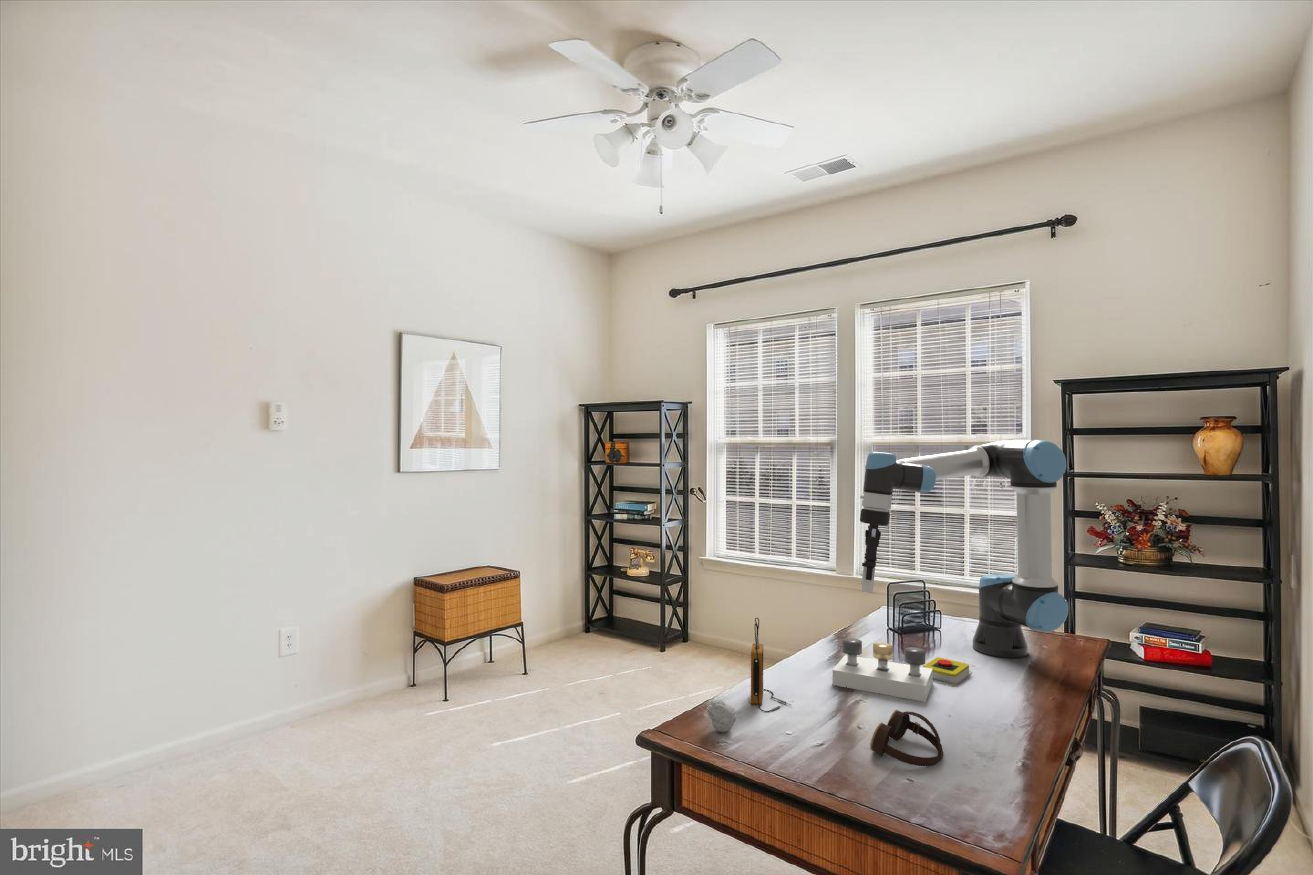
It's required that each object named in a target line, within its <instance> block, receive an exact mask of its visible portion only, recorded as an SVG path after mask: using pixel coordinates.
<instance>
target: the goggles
mask: <svg viewBox="0 0 1313 875" xmlns="http://www.w3.org/2000/svg"><path fill="white" fill-rule="evenodd" d="M910 715H911V716H914V717H916V718H919V719H920V720H921V721H923V722H924V723H925V724H926V725H927V726H928V727H929V728H930V729H931V731H932V732H931V731H929V729H927V728H925V727H923V726H922V725H921V724H920V723H919V722H916V721H911V718H910V717H911V716H910ZM907 730H909V731H911V732H912V733H913V734H915V735H919V736H920V737H922V738H924V739H925V740H927V741H928V742H929V743H930V744H931V745H932V746H933V747H934V748H935V750H936V751H937V755H936V756H931V757H926V756H924V757H923V756H918V755H917V756H916V755H912V754H908V753H907V752H903V751H901V750H899V749H897V748H894V747H893V746H891V745H890V744H889V740H890V738H891V739H892V740H893V741H895V742H898V741H899V740H901V739H902V738H903V737H904V736H905V734H906V733H907ZM941 742H942V741H941V737H940V736H939V733H938V731H937V729H936V727H935V725H934V724H933V723H932V722H931V721H930V720H929V719H928V718H927V717H925V716H923V715H922V714H920V713H917V712H914V711H908V710H907V711H901V710H898V709H896V710H895V709H894V711H893V712H892V714H891V715H890V717H889V719H888V721H887V724H885V723H883V722H880V723H878V725H877V727H876V728H875V730H874V732H873V734H872V737H871V741H870V750H871V752H872V751H873V752H874V753H875V754H877V755H878V756H879V757H881V758H883V757H884V755H885V754H886V755H887V756H889V757H891V758H893V759H894V760H895V759H896V760H897V761H899V762H902V763H905V764H908V765H912V766H916V767H931V766H934V765H937V764H938V763H939V762H941V761H942V759H943V757H944V750H943V745H942V743H941Z"/></svg>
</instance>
